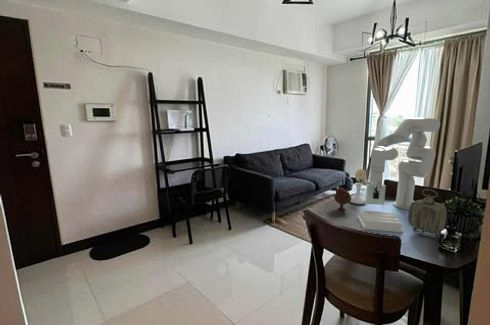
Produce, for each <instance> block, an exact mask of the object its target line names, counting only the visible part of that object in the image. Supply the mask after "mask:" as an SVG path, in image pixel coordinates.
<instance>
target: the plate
mask: <svg viewBox="0 0 490 325" xmlns="http://www.w3.org/2000/svg"><path fill="white" fill-rule="evenodd" d="M386 186H387V185H385V184H382V188H381V189H380V191H379V199H373V192H374V188H372V185H371V184H370V183H369V184H368V183H366V189H365V190H366V191H365V200H366V203H365V204H366V205H382V206H383V205H385V199H386V198H385V196H386ZM376 188H377V187H376Z"/></svg>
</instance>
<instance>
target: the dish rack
mask: <svg viewBox="0 0 490 325" xmlns="http://www.w3.org/2000/svg"><path fill="white" fill-rule="evenodd" d="M359 211H360V212H359V215H357V219H358V221H359V223H360V225H361V227H362V229H363V230H372V231H386V232H395V233H396V232H397V233H404V229H403V222H400V219H399V218H397V215H394V212H391V211H390V212H389V211H375V210H364V209H362V210H361V209H360V210H359Z"/></svg>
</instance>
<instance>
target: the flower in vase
mask: <svg viewBox="0 0 490 325" xmlns="http://www.w3.org/2000/svg"><path fill="white" fill-rule="evenodd" d="M354 175H355V176H354V178H355V179H356V181H357V182H355V183H354V184H355V187H356V191H355V194H354V195H351V197H352V198H351V200H350V202H349V203H352V204H355V205H363V204H366V197H363V195H362V194H361V188H362V186H363V185H367V183H366V181H365V180H364V179H365V178H366V176H367V171H366V170H365V169H364V168H363V169H362V168H361V169H357V170H356V172H355V174H354ZM360 180H361V181H360Z"/></svg>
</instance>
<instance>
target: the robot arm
mask: <svg viewBox="0 0 490 325" xmlns="http://www.w3.org/2000/svg"><path fill="white" fill-rule="evenodd" d="M440 127H441V120H439V119H438V118H437V117H415V116H413V117H412V116H411V117H410V116H409V117H406V118H405V119H404V120H402V121H401V123H400V124H399V126H398V127H397V128H396V129H395V131H394V132H393V133H390V134H387V136H384V137H382V138H381V139H380V140H378V141H377V143H375V145H374V147H373V148H372V150H371V159H370V170H369V171H370V179H369V184H371V185H372V188H374V192H373V199H379V191H380V189H381V188H382V185H383V180H384V179H383V176H384V175H383V173H385V167H386V161H394V160H396V159H397V158H398V156H399V151H398V150H397V148H395V147H390V146H392V145H397V144H398V145H399V144H401V143H405V142H406V141H408V140H409V138H410V137H411V139H410V143H409V145H408V148H407V150H406V154H405V155H406V157H407V158H408V159H404V160H401V161H400V162H399V163H398V165H397V168H398V169H397V170H398V181H397V189H396V198H395V201H394V202H393V203H392V206H394V207H396V208H399V209H402V210H403V209H404V210H409V208H410V205H411V203H412V202H415V201H416V200H414V192H415V187H416V179H415V178H426V177H428V175H429V173H430V172H431V169H432V166H433V163H434V160H435V158H436V149H435V148H433V147H432V146H426V144H427V141H428V137H427V135H426V134H425V133H434V132H436V131H438V130H439V129H440ZM410 159H411V160H410ZM414 177H415V178H414ZM376 187H377V188H376Z"/></svg>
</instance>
